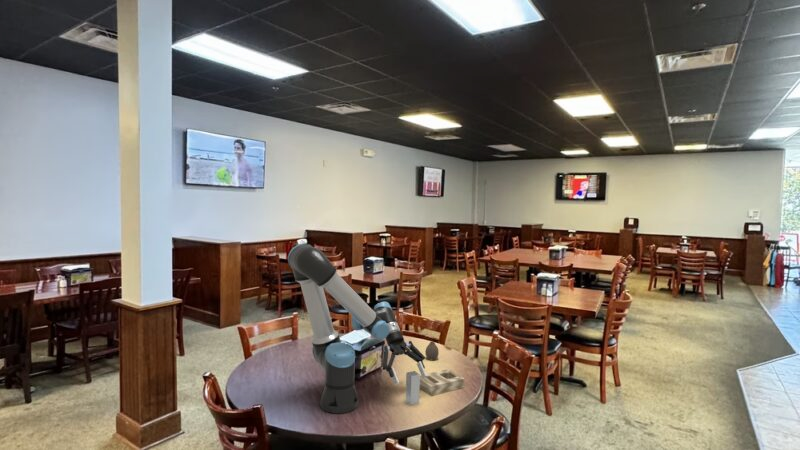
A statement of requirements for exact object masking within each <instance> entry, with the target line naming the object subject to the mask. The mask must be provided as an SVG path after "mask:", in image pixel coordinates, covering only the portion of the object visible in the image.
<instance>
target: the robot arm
mask: <svg viewBox="0 0 800 450" xmlns="http://www.w3.org/2000/svg"><path fill="white" fill-rule="evenodd" d="M287 262H288V265H289V267H290V268H291V269H292V272H293V276H294V277H293V278H294V280H295V282H297V283H299V284H300V287H301V288H300V289H301V292H302V295H303V299H304V303H305V307H306V311H307V314H308V319H309V322H310V325H311V330H312V333H313V336H312V338H311V344H312V356H313V359H314V360H315V361H316V362H317V363H318V365H320V367H321V368H322V369H323V370H324V372H325V373H324V374H325V375H324V388H323V391H322V394H321V397H320V401H319V402H320V403H319V404H320V409H321V410H323V411H325V412H326V411H327V413H329V412H331V414H346V413H350V412H352V411H354V410H356V409H357V408H358V406H359V396H358V393H357V390H356V385H355V377H356V375H355V374H356V373H355V372H356V371H355V358H356V351H355V348H354V347H353V346H352V345H351V344H349V343H345V342H341V337H340V334H339V331H337V330H335V329H334V325H333V322H332V317H331V313H330V310H329V306H328V302H327V298H326V294H325V291H327V293H329V294H330V296H332V297H333V299H335V301H337V302H338V304H340V305H341V306H342V307H343V308H344V309H345V310H346V311H347V312H348V313H349V315H350V316H351V318H350V319H351V321H350V322H351V326H352V329H353V330H354V331H362V330H363V331H365V332H366V333H368V334H369V335H371V336H372V337H373V338H375V339H377V340H384V339H385V341H386V344H387V345H384V346H383V348H382V352H383V358H382V371H386V372H388V375H389V378H391V379H392V380H393V384H394V386H398V385H399V383H400V380H399V378H398V376H397V373H396V370H395V367H392V366H393V363H394V360H395V357H396V356H400V355H405V356H407V357H408V358H410V359H412V360H413V361H414V362H416V366H417V369H418V371H419V374H420V375H421V376H422V378H425V377H426V376H427V375H426V374H427V372H426V370H425V369H426V367H425V365H424V362H423V361H424V360H425V359H426V355H424V354H423V353H422V352H421V351H420V349H418V348H417V347H416V346H415V345H414V343H413V342H412V340H409V341H408V342H406V341H405V339H404V335H403V333H402V331H401V329H400V326H399V324H398V321H397V319H396V316H395V314H394V311H393V309H392V307H391V304H390V303H389V302H388V301H380V302H378V303H377V304H375V305H374V306H373V307H374V308H371V307H370V306H369V305H368V304H367V302H366V301H365V300H364V299H363V298H362V297H361V296H360V295H359V294H358V293H357V292H356V291H355V290H354V289H353V288H352V287H351V286H350V285H349V284H348V283H347V282H346V281H345V279H343V278H342V276H340V275H339V273H338V269H337V267H336V266H334V265H333V263H332V262H331V261H330V260H329V258H327V256H326V254H324V253H323V252H322V250H320V249H319V248H317V247H314V246H312V245H310V244H309V243H307V244H305V243H301V244H298V245H295V246H294V247H292V249H291V250H290V251H289V253H288V256H287ZM389 352H391V355H390V357H389ZM388 359H389V360H388Z"/></svg>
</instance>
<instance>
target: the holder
mask: <svg viewBox="0 0 800 450" xmlns="http://www.w3.org/2000/svg"><path fill="white" fill-rule="evenodd" d="M426 375H427V376H426V377H425V378H422V376H421V374H420V387H419V390H422V391H423V392H425V393H426V394H427V395H429V396H430V397H432V396H436V395H440V394H445V393H447V392H452V391H457V390H459V389H463V388H465V378H464V377H462V376H461V375H459V374H457V373H456V372H454V371H452V370H450V369H449V368H447V369H441V370H438V371H433V372H430V373H426Z"/></svg>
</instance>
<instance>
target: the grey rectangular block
mask: <svg viewBox="0 0 800 450" xmlns="http://www.w3.org/2000/svg"><path fill="white" fill-rule="evenodd" d="M405 373H406V375H405V402H406V403H407V404H408V405H410V406H414V405H417V404H420V388H419V387H420V375H421V373H418V372H417V371H416V370H413V371H408V372H407V371H406V372H405Z"/></svg>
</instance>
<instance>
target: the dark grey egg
mask: <svg viewBox="0 0 800 450" xmlns="http://www.w3.org/2000/svg"><path fill="white" fill-rule="evenodd" d="M424 352H425V358H426V359H427V360H430V361H435V360H437V358H438V357H439V354H440V353H439V347H438V346H437V344H436V343H435V342H434V341H429V343H428V344H427V346H426V347H425V351H424Z"/></svg>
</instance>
